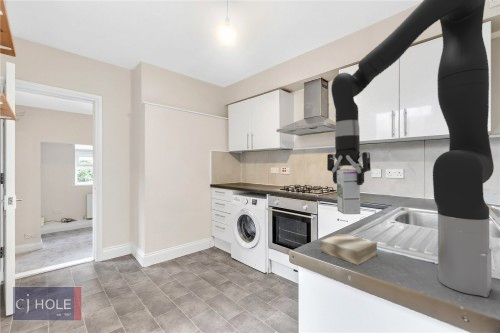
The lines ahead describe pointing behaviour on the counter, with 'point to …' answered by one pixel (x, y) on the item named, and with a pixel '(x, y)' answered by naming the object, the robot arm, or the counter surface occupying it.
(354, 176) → the syrup box
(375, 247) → the beige flat block
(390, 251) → the counter surface
